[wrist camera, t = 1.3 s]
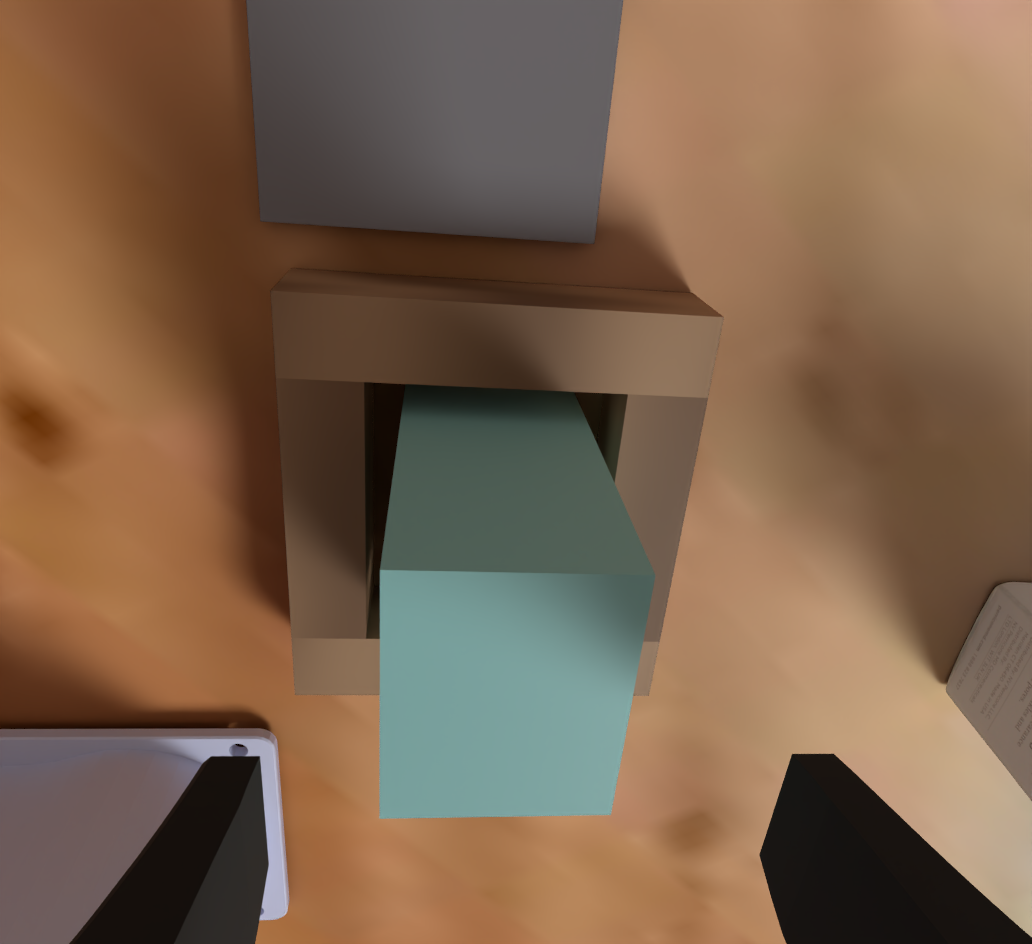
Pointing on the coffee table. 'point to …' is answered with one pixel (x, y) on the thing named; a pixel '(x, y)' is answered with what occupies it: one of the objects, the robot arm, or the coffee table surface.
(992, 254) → the coffee table surface
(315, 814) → the coffee table surface
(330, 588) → the block
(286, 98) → the mat
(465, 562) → the teal block
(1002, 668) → the skincare box
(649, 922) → the coffee table surface
